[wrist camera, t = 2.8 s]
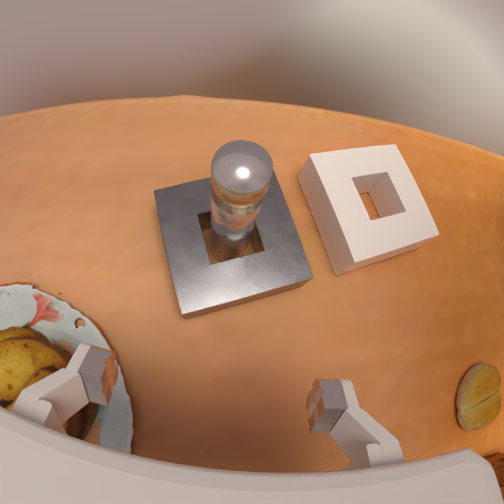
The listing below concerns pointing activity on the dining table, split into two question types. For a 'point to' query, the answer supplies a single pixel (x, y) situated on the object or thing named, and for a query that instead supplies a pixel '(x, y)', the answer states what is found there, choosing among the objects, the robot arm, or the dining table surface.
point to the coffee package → (498, 469)
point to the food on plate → (55, 359)
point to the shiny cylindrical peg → (237, 195)
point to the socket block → (236, 270)
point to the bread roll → (478, 397)
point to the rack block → (353, 210)
